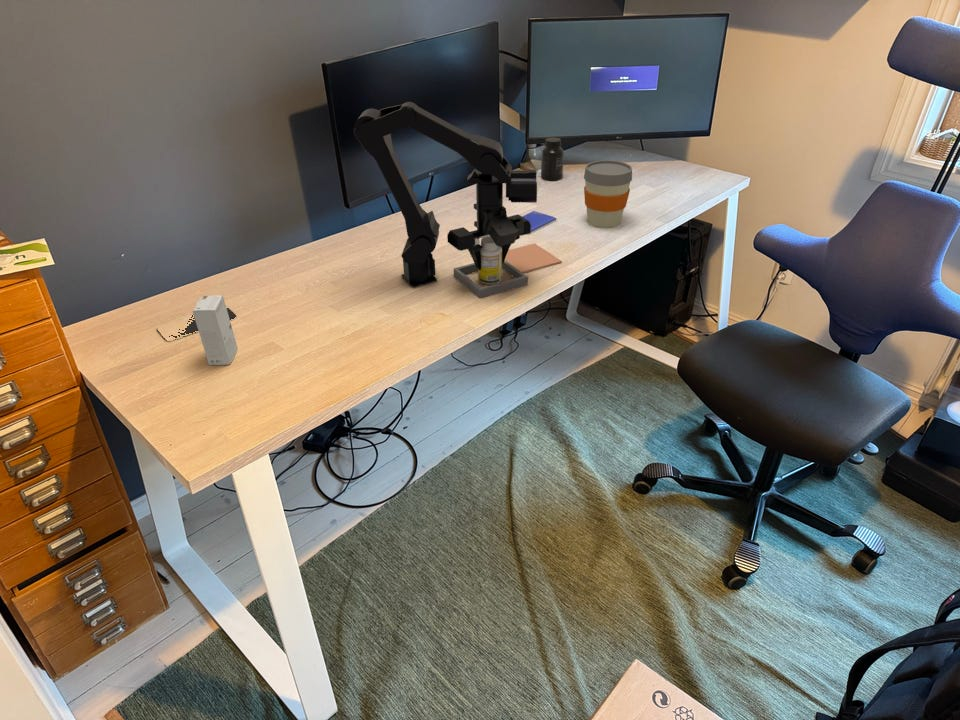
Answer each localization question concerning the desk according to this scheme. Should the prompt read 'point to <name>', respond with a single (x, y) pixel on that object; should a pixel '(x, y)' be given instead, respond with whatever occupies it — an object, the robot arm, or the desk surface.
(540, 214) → the hard drive
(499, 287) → the square frame
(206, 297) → the skincare box
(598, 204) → the reusable coffee cup
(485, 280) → the supplement bottle
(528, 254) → the pad
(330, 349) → the desk surface
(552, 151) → the supplement bottle
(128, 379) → the desk surface
